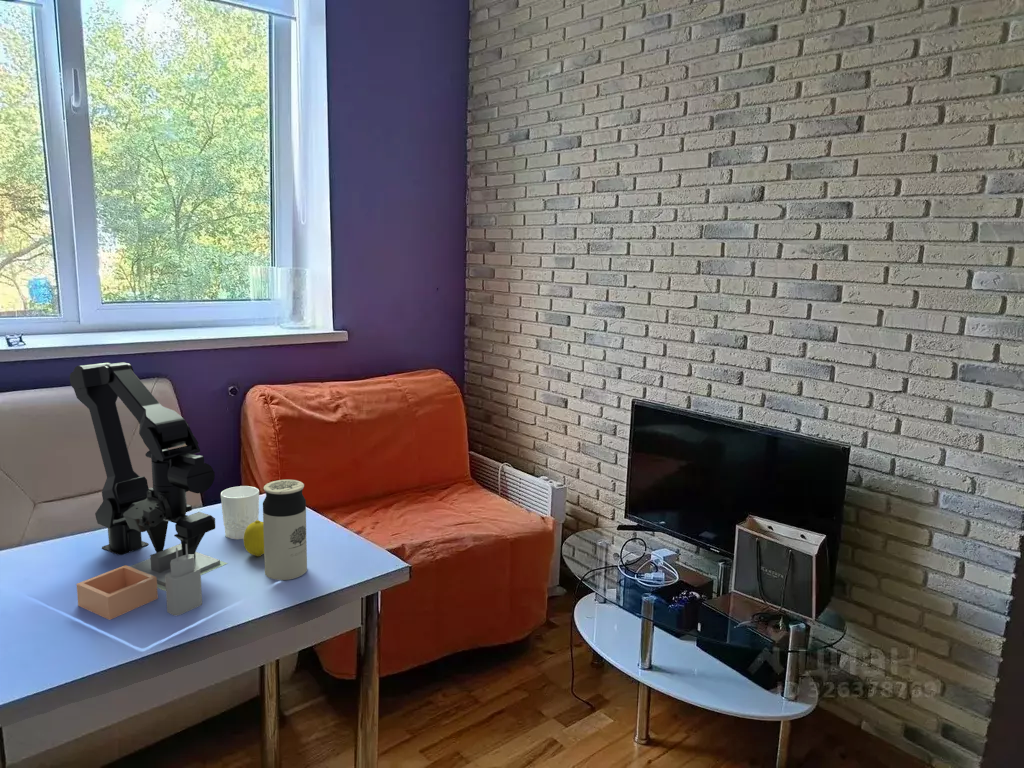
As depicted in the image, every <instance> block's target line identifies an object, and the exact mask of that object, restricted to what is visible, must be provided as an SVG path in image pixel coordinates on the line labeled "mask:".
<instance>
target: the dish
mask: <svg viewBox="0 0 1024 768" xmlns="http://www.w3.org/2000/svg"><path fill="white" fill-rule="evenodd" d="M75 585H76V593H77V594H76V595H77V606H78V607H80V608H82V609H84V610H87V611H89V612H91V613H92V614H93V613H94V614H95V615H96V616H100V617H102V618H104V619H107V620H109V621H110V620H113V619H115V618H117V617H119V616H122V615H124V614H126V613H129V612H130V611H133V610H136V609H137V608H141V607H142V606H144V605H147V604H148V603H151V602H153V601H156V600H158V599H159V596H158V588H157V577H155V576H152V575H150V574H147V573H145V572H142V571H139V570H137V569H134V568H132V567H129V565H125V564H124V565H123V566H120V567H119V566H118V567H117V568H115V569H111V570H108V571H106V572H104V573H101V574H99V575H96V576H93V577H90V578H89V579H85V580H82V581H81V582H77V583H76V584H75Z"/></svg>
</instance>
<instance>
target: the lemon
mask: <svg viewBox="0 0 1024 768" xmlns="http://www.w3.org/2000/svg"><path fill="white" fill-rule="evenodd" d="M243 545H244V548H245V550H246V552H247V553H249V554H250V555H252V556H255V557H257V558H258V557H261V556H262V555H264V528H263V521H262V520H261V521H260V520H259V519H258V520H256V521H255V522H253V523H251V524H250V525H249V526H248V527H247V528H246V530H245V533H244V539H243Z"/></svg>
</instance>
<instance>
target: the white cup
mask: <svg viewBox="0 0 1024 768" xmlns="http://www.w3.org/2000/svg"><path fill="white" fill-rule="evenodd" d="M220 500H221V501H220V502H221V513H222V520H223V521H222V522H223V526H224V533H225V534H224V535H225V537H226V538H227V539H231V540H244V533H245V530H246V528H247V527H248V526H249V525H250V524H251V523H253V522H255V521H256V520H259V516H260V515H259V513H260V510H259V509H260V508H259V507H260V504H259V503H260V490H259V488H257V487H255V486H249V485H240V486H238V485H237V486H233V487H229V488H226V489H224V490H222V491H221V492H220Z"/></svg>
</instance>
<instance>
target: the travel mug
mask: <svg viewBox="0 0 1024 768" xmlns="http://www.w3.org/2000/svg"><path fill="white" fill-rule="evenodd" d="M304 487H305V483H303V482H302V481H299V480H297V479H279V480H274V481H270V482H268V483H266V484H265V485H264V486H263V490H264V492H265V498H264V500H263V501H262V522H263V528H264V554H263V555H264V558H263V559H264V575H265V576H266V577H267V578H268V579H271V580H278V581H288V580H295V579H297V578H299V577H301V576H303V575H304V574H306V573H307V571H308V552H307V551H308V549H307V545H308V544H307V543H308V541H307V539H308V538H307V503H306V502H307V499H306V498H305V496H304V495H303V489H304Z"/></svg>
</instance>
